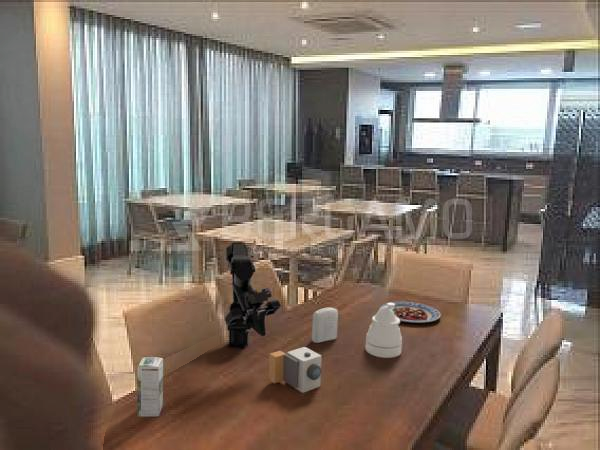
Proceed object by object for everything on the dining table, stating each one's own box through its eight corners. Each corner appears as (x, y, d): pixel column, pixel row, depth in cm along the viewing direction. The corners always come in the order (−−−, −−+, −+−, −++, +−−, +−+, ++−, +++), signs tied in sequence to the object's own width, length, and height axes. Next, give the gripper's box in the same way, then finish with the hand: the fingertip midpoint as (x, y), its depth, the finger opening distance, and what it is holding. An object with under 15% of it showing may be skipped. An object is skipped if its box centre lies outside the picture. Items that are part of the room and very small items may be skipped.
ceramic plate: (447, 314, 223) (448, 307, 222) (428, 331, 202) (429, 324, 201) (393, 302, 237) (393, 296, 236) (370, 317, 215) (370, 311, 215)
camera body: (285, 382, 155) (286, 350, 153) (303, 376, 160) (304, 344, 158) (306, 395, 148) (307, 362, 146) (324, 388, 152) (325, 356, 150)
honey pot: (408, 350, 182) (411, 303, 179) (388, 361, 173) (391, 311, 170) (378, 340, 191) (381, 294, 188) (358, 349, 182) (361, 301, 178)
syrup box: (142, 406, 139) (141, 356, 137) (163, 405, 140) (163, 356, 137) (137, 417, 133) (136, 366, 131) (160, 417, 134) (159, 366, 132)
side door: (269, 379, 155) (269, 353, 153) (279, 376, 157) (280, 350, 156) (286, 391, 148) (287, 364, 146) (297, 387, 150) (298, 360, 149)
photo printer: (331, 335, 194) (333, 304, 192) (338, 339, 190) (340, 307, 188) (309, 340, 188) (311, 308, 186) (316, 344, 185) (317, 312, 183)
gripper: (230, 285, 154) (249, 330, 147) (278, 276, 165) (298, 318, 159) (216, 302, 161) (234, 346, 155) (264, 293, 173) (283, 333, 166)
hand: (263, 335), depth 158 cm, fingers closed
